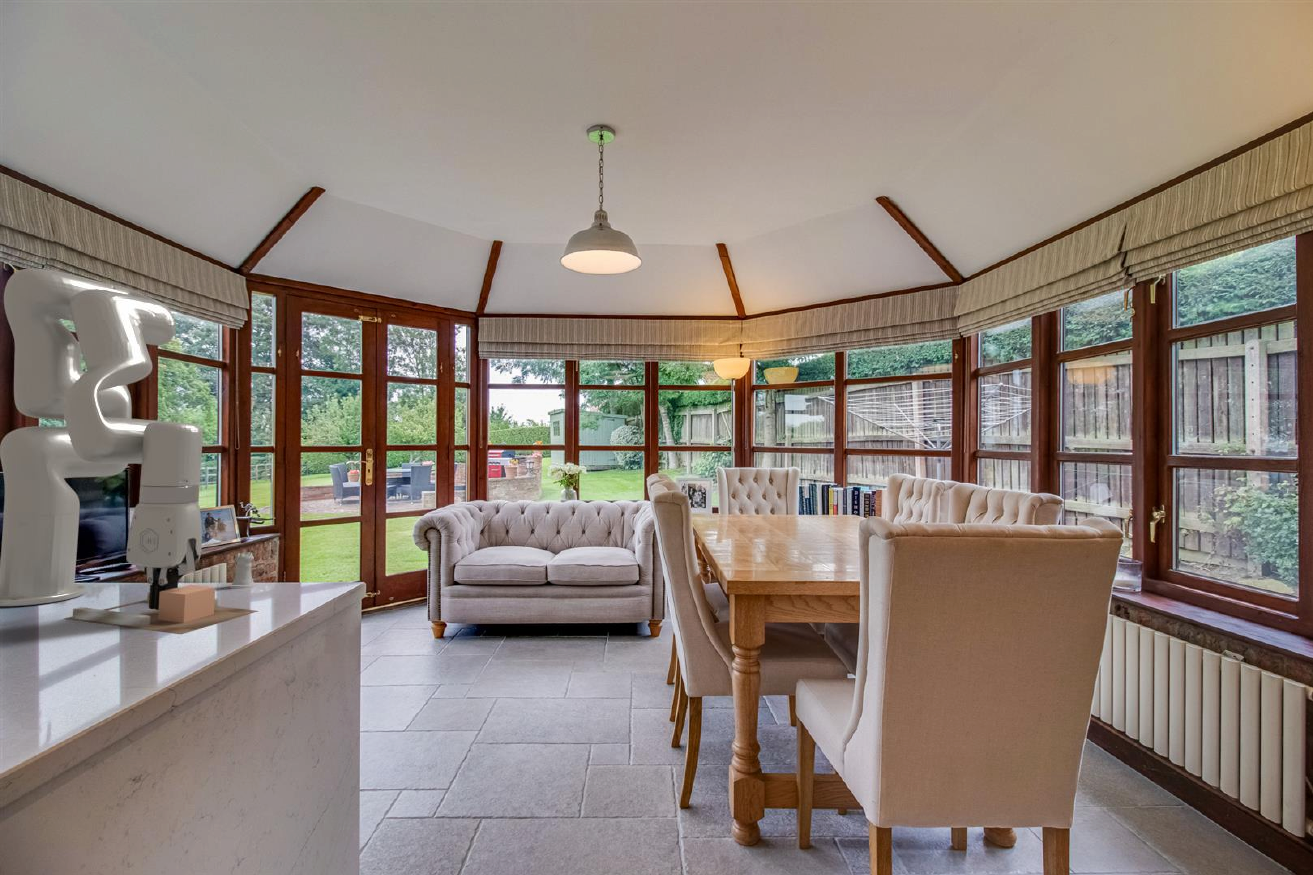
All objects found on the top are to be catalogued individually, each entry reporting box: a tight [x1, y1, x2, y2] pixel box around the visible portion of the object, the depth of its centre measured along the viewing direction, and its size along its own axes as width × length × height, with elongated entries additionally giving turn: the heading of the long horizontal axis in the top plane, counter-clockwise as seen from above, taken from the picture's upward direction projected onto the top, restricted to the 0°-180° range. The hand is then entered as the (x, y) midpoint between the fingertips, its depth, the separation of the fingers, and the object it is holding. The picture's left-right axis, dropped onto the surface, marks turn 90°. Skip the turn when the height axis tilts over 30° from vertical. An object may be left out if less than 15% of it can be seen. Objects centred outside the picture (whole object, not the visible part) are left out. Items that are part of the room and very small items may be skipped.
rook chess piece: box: [229, 551, 257, 590], centre depth 114 cm, size 4×4×8 cm
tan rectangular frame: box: [63, 591, 259, 635], centre depth 94 cm, size 23×13×3 cm, turn 78°
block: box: [158, 584, 216, 623], centre depth 93 cm, size 5×5×4 cm
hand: (162, 607), depth 94 cm, fingers closed
